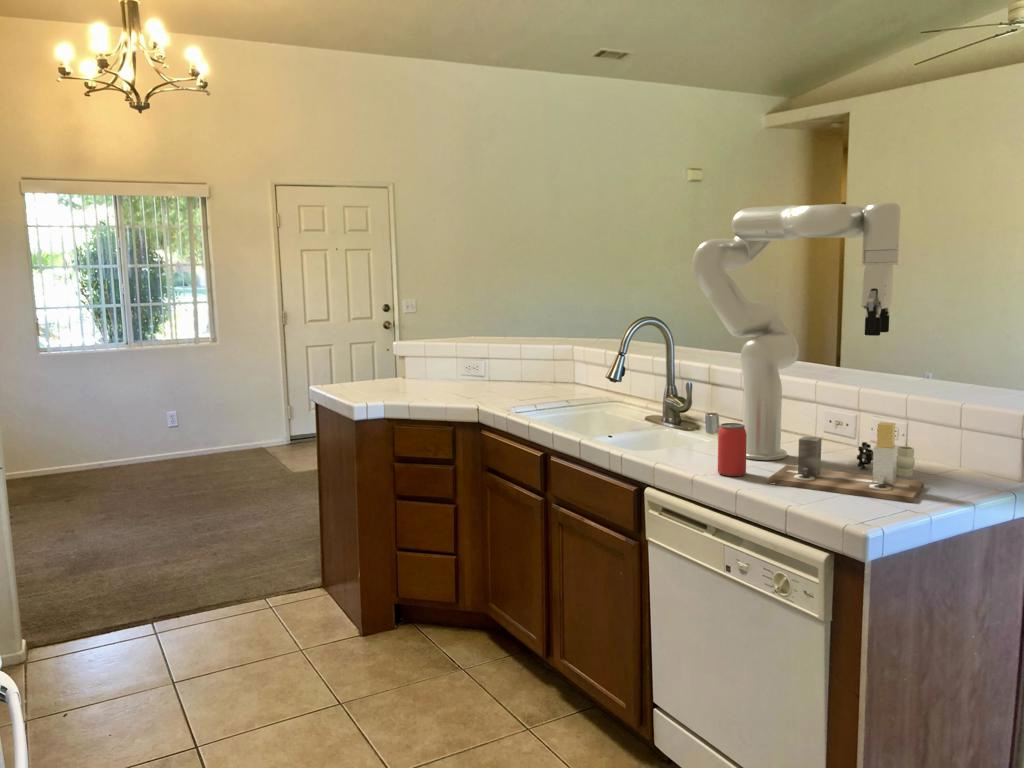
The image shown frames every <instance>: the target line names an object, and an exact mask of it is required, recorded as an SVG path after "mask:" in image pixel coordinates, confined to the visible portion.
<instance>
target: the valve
mask: <svg viewBox="0 0 1024 768" xmlns="http://www.w3.org/2000/svg"><path fill="white" fill-rule="evenodd" d="M871 446H872V445H871V444H870V443H868V442H866V441H862V443H861V446H858V448H857V449H858V452H859V454H857V455H856V459H857V460H858V463H857V467H858V468H860V469H863V470H866V469H867V466H868V465H871V463H872V462H873V456H874V449H871ZM914 456H915V448H914V447H912V446H911V447H910V446H905V445H900V446H897V463H896V476H899V477H904V478H905V477H907V478H908V477H913V476H914V467H915V463H916V460H915V457H914Z"/></svg>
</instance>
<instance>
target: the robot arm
mask: <svg viewBox="0 0 1024 768" xmlns="http://www.w3.org/2000/svg"><path fill="white" fill-rule="evenodd" d="M900 227H901V207H900V205H899V204H898V203H896V202H895V203H894V202H877V203H871V204H868V205H855V204H843V203H829V204H828V203H827V204H811V205H809V204H808V205H807V204H806V205H796V204H795V205H794V204H792V205H774V206H772V205H770V206H756V207H755V206H754V207H752V206H751V207H746V208H742V209H740V210H739V211H738V212H736V213H735V215H733V217H732V220H731V231H732V232H733V234H734V235H735V236H734V238H712V239H708V240H705V241H703V242H702V243H700V244H699V246H698V247H697V248H696V249H695V251H694V254H693V257H692V262H691V264H692V265H691V268H692V275H693V278H694V281H695V282H696V284H697V286H698V288H699V289H700V290H701V292H702V293H703V294H704V296H705V297H706V300H708V301H709V303H710V305H711V307H712V308H713V310H714V311H715V314H716V315H717V317H718V318H719V319H720V321H721V323H722V324H723V325H724V327H725V328H726V330H727V332H729V334H730V335H731V336H733V337H734V338H749V339H748V340H747V341H746V342H745V343H744V344H743V346H742V348H741V351H740V364H741V370H742V371H741V372H742V376H743V409H742V410H743V412H742V413H743V414H742V421H743V422H742V424H743V425H744V426H745V427H744V428H745V431H746V434H747V444H746V460H747V459H748V460H754V461H778V460H782V459H785V458H786V457H787V456H788V455H787V450H785V449H783V448H781V444H782V442H781V440H782V439H781V438H782V436H781V435H782V408H783V407H782V404H783V400H782V399H783V397H782V396H783V386H782V380H781V376H780V372H779V370H782V369H786V368H789V367H791V366H793V365H794V364H795V363H796V362H797V359H799V354H800V349H799V348H800V347H799V345H798V344H799V343H798V342H797V339H796V338H795V336H794V335H793V333H792V332H791V331H790V329H789V328H788V326H787V325H786V323H785V321H784V320H783V319H782V317H781V316H780V314H779V313H778V312H777V310H776V309H775V308H774V307H773V306H772V305H771V304H769V303H768V302H765V301H762V300H750V299H748V297H747V296H746V295H745V294H744V292H743V291H742V289H741V287H740V286H739V284H738V283H737V282H736V281H735V280H734V279H733V278H732V277H730V276H729V275H728V274H727V271H728V272H729V271H739V270H742V269H745V268H746V267H748V265H750V264H751V263H752V262H753V261H754V260H755V259H756V258H758V256H759V255H761V254H762V252H763V251H764V250H765V249H766V248H767V247H768V246H769V245H770V244H771V243H772V242H774V241H777V242H778V241H780V242H781V241H795V240H797V239H802V238H803V239H805V238H806V239H807V238H809V239H811V238H812V239H813V238H836V239H837V238H843V239H844V238H846V239H847V238H848V239H852V238H853V239H854V238H861V237H862V248H861V250H862V254H861V266H864V271H863V278H862V279H863V280H862V293H861V303H860V304H861V305H860V307H861V308H862V310H864V309H865V318H864V335H865V336H876V337H879V336H880V335H881V333H889V332H890V307H891V306H892V300H893V284H894V283H893V282H894V281H893V279H894V276H893V275H894V273H893V272H894V267H893V266H894V265H899V253H900V251H899V249H900V231H901V230H900ZM750 337H752V338H750Z"/></svg>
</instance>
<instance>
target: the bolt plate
mask: <svg viewBox="0 0 1024 768" xmlns="http://www.w3.org/2000/svg"><path fill="white" fill-rule="evenodd" d="M822 439H823V438H822V437H818V436H817V437H816V436H807V435H806V436H805V435H803V436H802V437H800V438H799V439H798V454H797V455H798V461H797V466H795V465H794V466H793V465H785V466H782V468H780V469H779V470H778V471H776V472H775V473H773V474H772V475H770V476H769V477H767V484H769V483H775V484H774V485H777V484H781V485H780V486H784V485H787V486H786V487H792V486H793V487H792V488H801V489H806V490H807V489H808V490H815V491H823V492H828V493H829V492H830V493H835V494H836V493H837V494H844V495H845V494H846V495H852V496H859V497H860V496H861V497H866V498H873V499H875V498H876V499H882V500H889V501H894V502H895V501H897V502H903V503H904V502H905V503H912V504H913V503H914V502H915V501H916V499H917V497H918V496H919V494H920V493H921V491H922V490H923V489H924V485H925V484H924V483H925V481H920V480H912V479H904V478H903V479H902V478H896V481H895V482H894V483H893V485H889V484H882V486H880V485H878V483H873V482H872V480H873V475H869V474H860V473H853V472H845V471H839V470H838V471H836V470H828V469H821V468H822V467H821V465H822Z"/></svg>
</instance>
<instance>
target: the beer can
mask: <svg viewBox="0 0 1024 768" xmlns="http://www.w3.org/2000/svg"><path fill="white" fill-rule="evenodd" d="M744 427H745V426H744V425H743V423H738V422H724V423H721V424H720V428H719V429H718V433H717V435H718V436H717V472H718V473H720V475H721V474H722V475H721V476H724V475H726V476H725V477H729V476H738V477H743V476H744V475H745V474H746V473H747V458H746V444H747V434H746V431H745V428H744Z"/></svg>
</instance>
